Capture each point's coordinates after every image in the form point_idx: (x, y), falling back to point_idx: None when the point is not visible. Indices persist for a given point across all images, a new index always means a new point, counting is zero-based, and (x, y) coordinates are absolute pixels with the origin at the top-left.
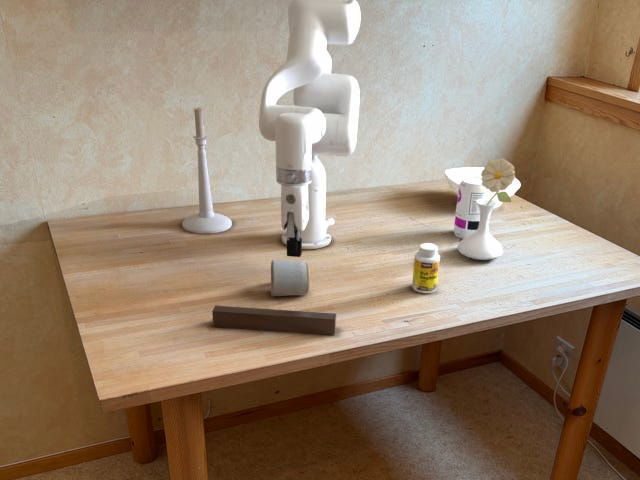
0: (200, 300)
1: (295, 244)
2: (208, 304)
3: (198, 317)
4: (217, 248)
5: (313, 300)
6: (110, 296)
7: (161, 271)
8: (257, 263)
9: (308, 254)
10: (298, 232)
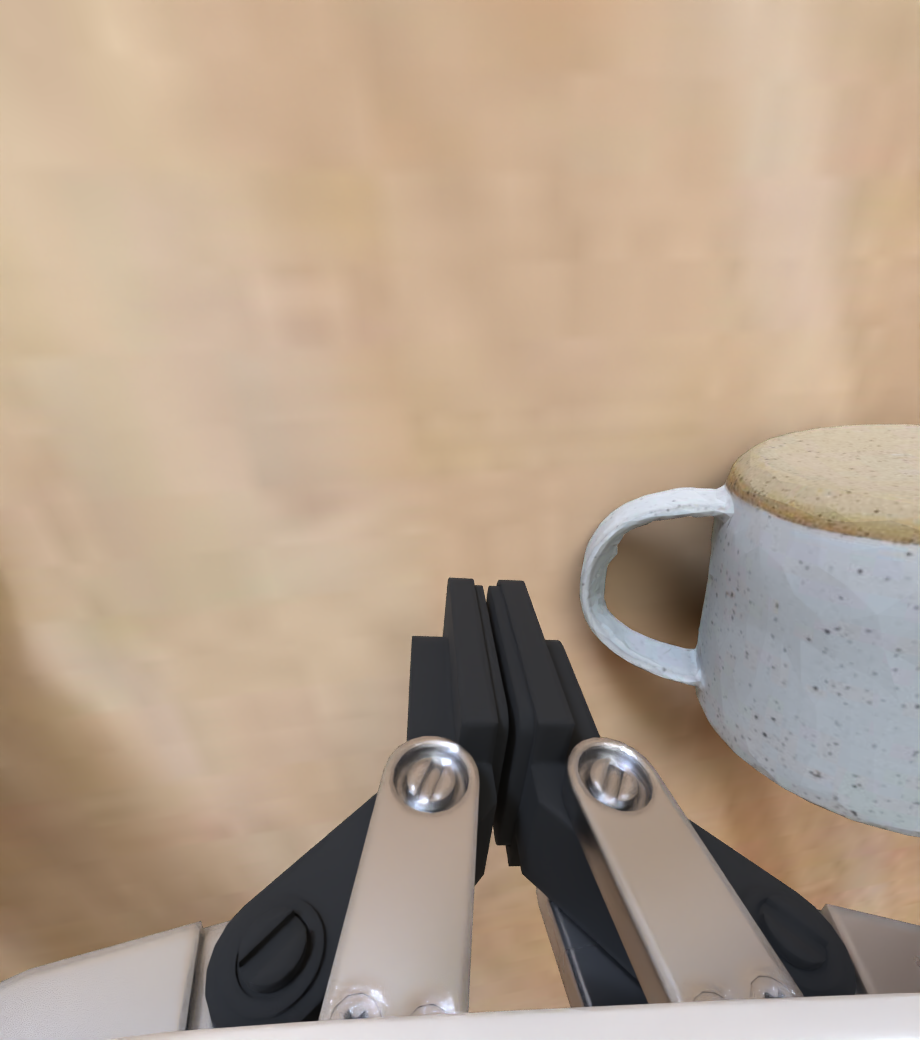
0: (750, 860)
1: (589, 734)
2: (794, 833)
3: (896, 836)
4: (165, 926)
5: (907, 376)
6: None
7: (472, 999)
8: (319, 753)
9: (26, 468)
10: (751, 932)
